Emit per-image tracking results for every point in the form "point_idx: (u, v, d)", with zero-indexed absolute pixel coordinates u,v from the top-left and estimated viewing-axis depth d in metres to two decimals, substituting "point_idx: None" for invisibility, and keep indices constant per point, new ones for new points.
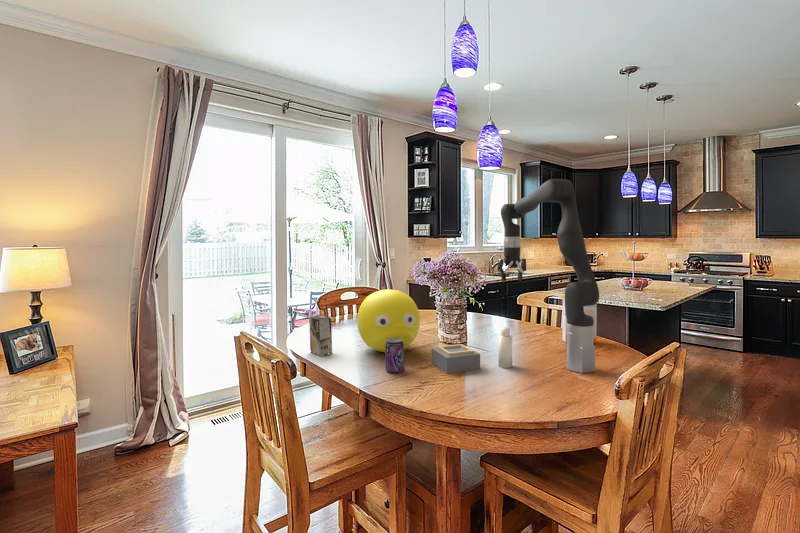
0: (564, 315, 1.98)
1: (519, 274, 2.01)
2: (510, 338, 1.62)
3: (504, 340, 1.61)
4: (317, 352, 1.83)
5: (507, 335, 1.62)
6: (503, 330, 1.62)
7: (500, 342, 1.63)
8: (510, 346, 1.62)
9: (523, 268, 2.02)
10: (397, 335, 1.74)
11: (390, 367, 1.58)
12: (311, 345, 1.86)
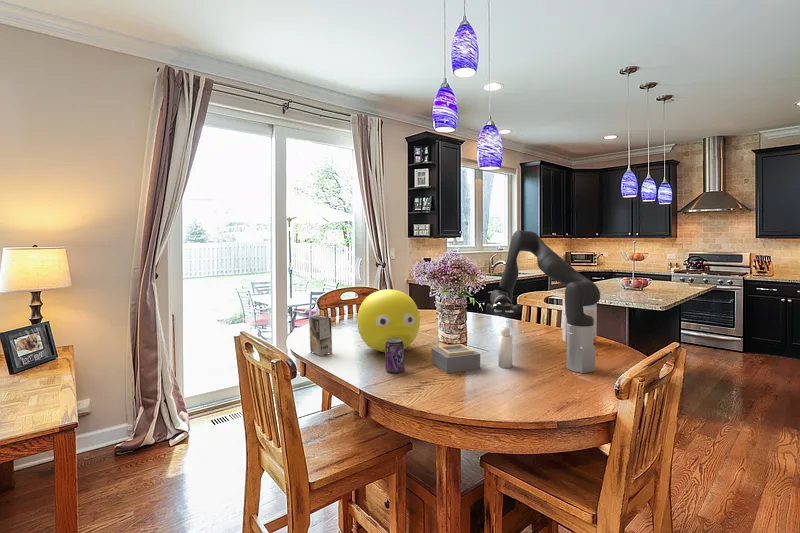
0: (564, 315, 1.98)
1: (513, 309, 1.76)
2: (510, 338, 1.62)
3: (504, 340, 1.61)
4: (317, 352, 1.83)
5: (507, 335, 1.62)
6: (503, 330, 1.62)
7: (500, 342, 1.63)
8: (510, 346, 1.62)
9: None
10: (397, 335, 1.74)
11: (390, 367, 1.58)
12: (311, 345, 1.86)
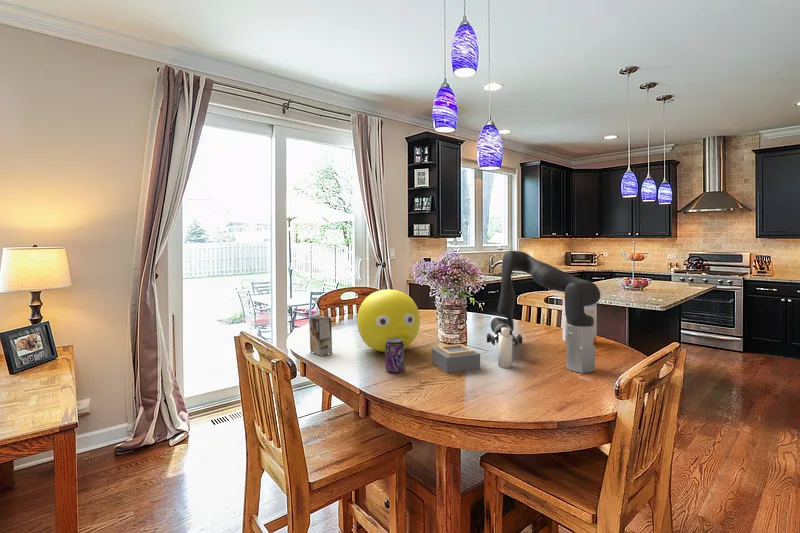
0: (564, 315, 1.98)
1: (514, 340, 1.70)
2: (510, 338, 1.62)
3: (504, 340, 1.61)
4: (317, 352, 1.83)
5: (507, 335, 1.62)
6: (503, 330, 1.63)
7: (500, 342, 1.63)
8: (510, 346, 1.62)
9: None
10: (397, 335, 1.74)
11: (390, 367, 1.58)
12: (311, 345, 1.86)
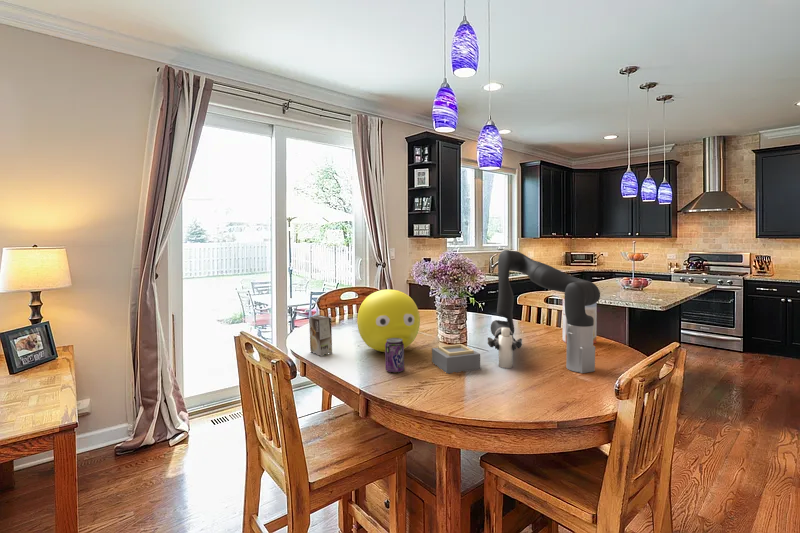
0: (564, 315, 1.98)
1: None
2: (510, 338, 1.62)
3: (504, 340, 1.61)
4: (317, 352, 1.83)
5: (507, 335, 1.62)
6: (503, 330, 1.62)
7: (500, 342, 1.63)
8: (510, 346, 1.62)
9: None
10: (397, 335, 1.74)
11: (390, 367, 1.58)
12: (311, 345, 1.86)
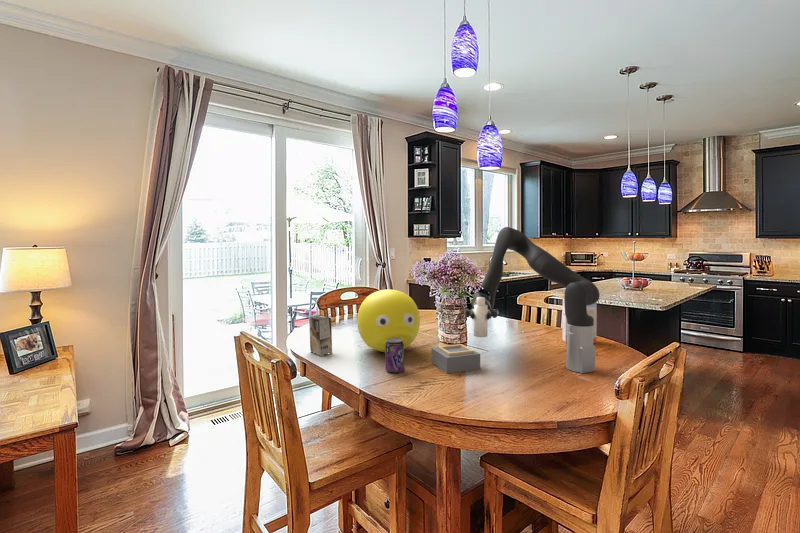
0: (564, 315, 1.98)
1: None
2: (485, 307, 1.62)
3: (479, 309, 1.62)
4: (317, 352, 1.83)
5: (482, 304, 1.63)
6: (478, 299, 1.63)
7: (475, 311, 1.63)
8: (485, 315, 1.62)
9: None
10: (397, 335, 1.74)
11: (390, 367, 1.58)
12: (311, 345, 1.86)
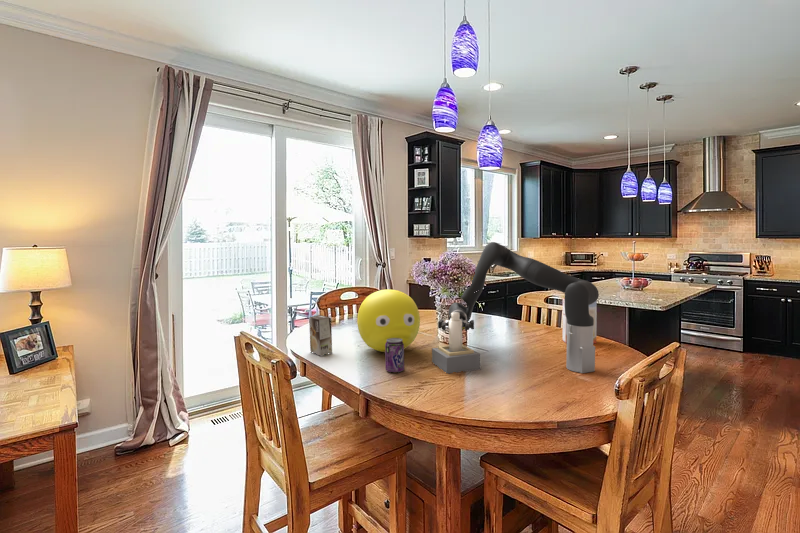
0: (564, 315, 1.98)
1: None
2: (459, 322, 1.62)
3: (453, 324, 1.62)
4: (317, 352, 1.83)
5: (456, 319, 1.63)
6: (453, 315, 1.63)
7: (450, 327, 1.63)
8: (459, 330, 1.63)
9: None
10: (397, 335, 1.74)
11: (390, 367, 1.58)
12: (311, 345, 1.86)
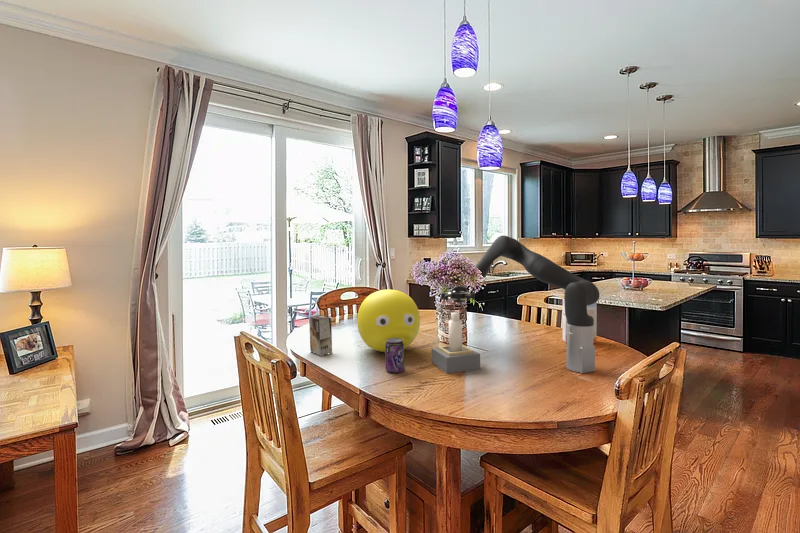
0: (564, 315, 1.98)
1: None
2: (459, 323, 1.62)
3: (453, 324, 1.62)
4: (317, 352, 1.83)
5: (456, 320, 1.63)
6: (452, 315, 1.63)
7: (450, 327, 1.63)
8: (459, 331, 1.63)
9: None
10: (397, 335, 1.74)
11: (390, 367, 1.58)
12: (311, 345, 1.86)
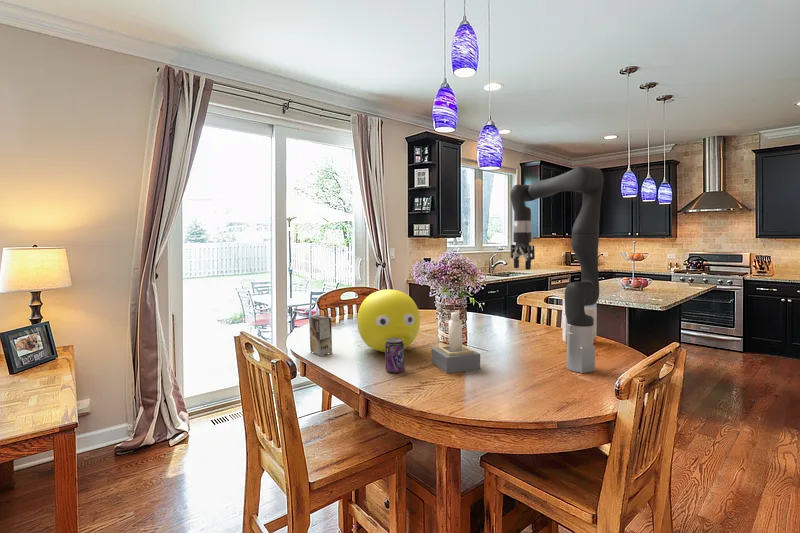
0: (564, 315, 1.98)
1: None
2: (459, 323, 1.62)
3: (453, 324, 1.62)
4: (317, 352, 1.83)
5: (456, 320, 1.63)
6: (452, 315, 1.63)
7: (450, 327, 1.63)
8: (459, 331, 1.63)
9: (530, 256, 1.78)
10: (397, 335, 1.74)
11: (390, 367, 1.58)
12: (311, 345, 1.86)
